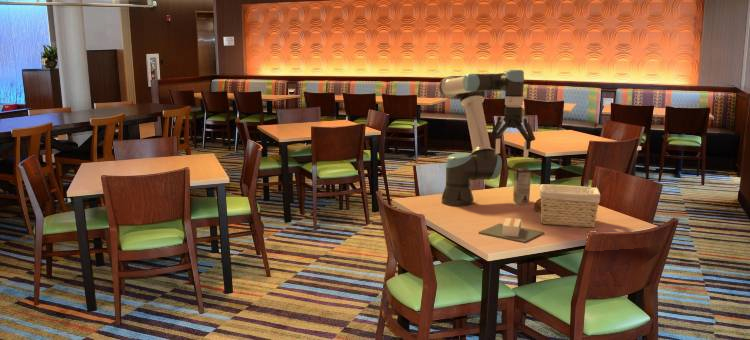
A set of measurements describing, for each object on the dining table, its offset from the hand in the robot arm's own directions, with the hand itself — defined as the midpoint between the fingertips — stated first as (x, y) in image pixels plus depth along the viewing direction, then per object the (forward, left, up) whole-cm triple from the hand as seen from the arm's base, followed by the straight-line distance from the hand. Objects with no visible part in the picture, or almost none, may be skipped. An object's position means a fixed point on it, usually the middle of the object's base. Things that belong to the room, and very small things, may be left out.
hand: (511, 155), depth 284 cm
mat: (+15, -26, -27) cm, 40 cm away
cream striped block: (+15, -26, -26) cm, 40 cm away
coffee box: (-7, +25, -27) cm, 37 cm away
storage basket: (+25, +5, -27) cm, 37 cm away
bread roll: (+8, +18, -27) cm, 34 cm away
